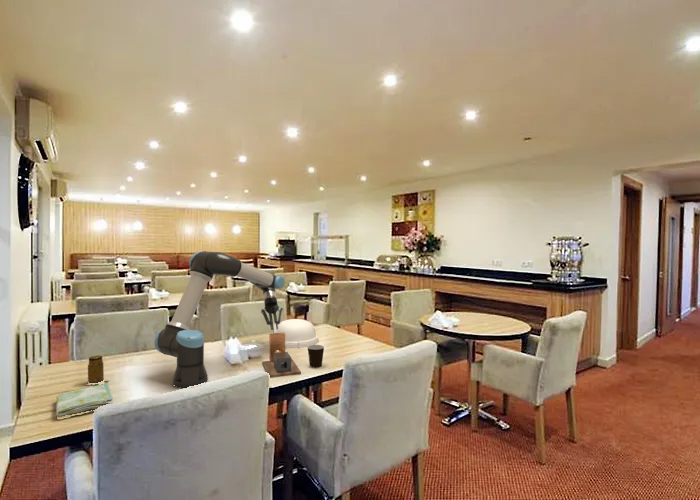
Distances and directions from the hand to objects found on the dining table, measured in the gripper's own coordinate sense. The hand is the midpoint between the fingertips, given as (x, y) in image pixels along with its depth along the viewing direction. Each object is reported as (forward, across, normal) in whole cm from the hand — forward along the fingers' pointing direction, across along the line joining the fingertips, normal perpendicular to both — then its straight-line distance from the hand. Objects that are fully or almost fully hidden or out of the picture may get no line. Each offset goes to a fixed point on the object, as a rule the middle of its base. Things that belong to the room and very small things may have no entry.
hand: (275, 334), depth 224 cm
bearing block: (+26, +1, +11) cm, 29 cm away
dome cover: (-9, -17, -28) cm, 34 cm away
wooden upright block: (+21, +1, +5) cm, 21 cm away
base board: (+24, +1, +7) cm, 25 cm away
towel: (+37, +83, +19) cm, 93 cm away
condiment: (+18, +84, +1) cm, 86 cm away
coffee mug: (+25, -18, +7) cm, 31 cm away
